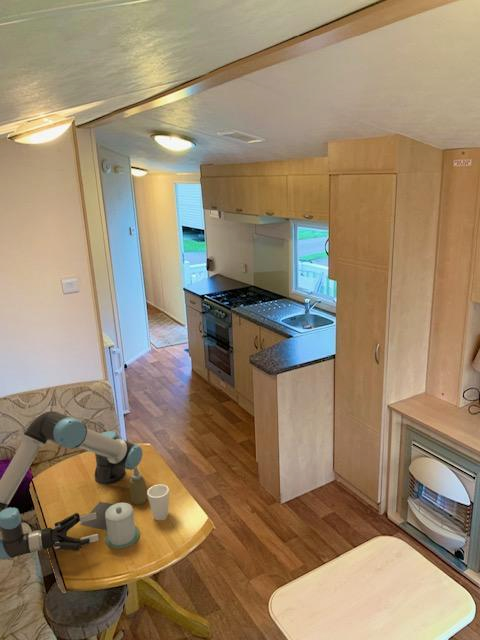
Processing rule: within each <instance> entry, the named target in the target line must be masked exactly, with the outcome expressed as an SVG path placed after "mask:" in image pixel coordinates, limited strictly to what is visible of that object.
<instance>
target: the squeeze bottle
mask: <svg viewBox="0 0 480 640" xmlns="http://www.w3.org/2000/svg"><path fill="white" fill-rule="evenodd" d="M130 475H131V476H130V479H129V497H130V499H131V501H132V503H133V504H134V505H136V506H139V505H143V504H145V503H146V501H147V499H148V494H147V491H148V488H147V484H146V481H145V480H146V479H145V477H144V476H143V474H142V472H141V471H139V468H138V466H137V467H135V468H134V469H133V473H131V474H130Z"/></svg>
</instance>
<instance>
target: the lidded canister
mask: <svg viewBox="0 0 480 640" xmlns="http://www.w3.org/2000/svg"><path fill="white" fill-rule="evenodd" d="M113 504H114V505H112V506H110V507H109V508H108V509H107V510H106V512H105V518H106V525H107V530H106V532H107V533H108V539H109V541H110V542H111V543H112V544H115V545H123V544H127V543H128V542H130V541H132V540H133V538H134V537H135V535H136V532H135V526H136V525H135V517H134V509H133V506H132V505H131V504H130V503H127V502H117V503H113Z"/></svg>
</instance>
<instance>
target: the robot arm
mask: <svg viewBox="0 0 480 640" xmlns="http://www.w3.org/2000/svg"><path fill="white" fill-rule="evenodd" d="M22 437H23V440H22V441H21V444H20V445H19V446H18V449H17V450H16V452H15V454H14V456H13V458H12V459H11V461H10V462H9V464H8V466H7V468H6V469H5V471H4V473H3V475H2V477H1V478H0V534H1V535H0V536H1V538H2V539H0V559H1V560H8V559H14V558H17V557H20V556H24V555H27V554H31V553H35V552H39V551H42V549H43V550H49V549H51V548H53V547H54V551H60V550H63V551H64V550H65V551H75V552H76V551H77V552H78V551H80V550H81V549H82V546H84V545H89V544H91V543H94V542H98V541H99V540H100V539H99V534H98V533H95V534H94V533H93V534H90V535H87V536H83V537H80V539H78V538H75V537H71V536H68V535H67V534H68V531H69V530H71V529H72V528H74V527H75V526H76V525H77V524H78V523H80V524H81V523H82V522H85V521H90V520H94V519H97V518H96V512H95V513H91V514H89V513H85V514H82V515H81V514H80V513H78V512H75V513H73V514H71V515H69V516H67V517H65V518H64V519H63V520H60V521H57V522H55V523H54V528H52V527H46V528H43V529H42V530H40V529H38V530H33V531H30V532H25V533H24V528H23V524H22V523H23V522H22V516H21V514H20V511H19V508H17V507H8V506H9V504H10V502H11V500H12V499H13V497H14V495H15V494H16V492H17V490H18V488H19V486H20V485H21V482H22V481H23V479H24V478H25V476H26V474H27V472H28V470H29V469H30V467H31V465H32V463H33V461H34V459H35V458H36V456H37V454H38V453H39V451H40V449H41V447H43V446H45V445H46V443H47V441H50V442H52V443H54V444H57V445H59V446H61V447H63V448H67V449H68V448H69V449H73V450H75V449H78V448H79V449H83V450H85V451H88V452H91V453H93V454H94V455H95V461H96V465H95V471H94V479H95V482H96V483H98V484H101V485H112V484H115V483H118V482H119V481H122V480H123V479H124V477H126V473H127V472H126V470H129V471H134V468H135V467H137V468H138V466H139V464H141V463H140V462H141V461H142V458H143V449H142V447H141V446H140V445H138V444H135V443H132V442H130V441H127V440H125V439H123V438H119V437H118V433H117V432H116V431H114V430H108V431H103V432H101V433H99V432H97V431H95V430H92V429H89V428H88V427H87V425H86V423H85V422H83V421H81V420H79V419H78V418H75V417H72V416H68V415H66V414H63V413H60V412H58V411H54V410H53V411H51V410H50V411H45V412H43V413H41V414H39V415H38V416H36V418H34V419H33V421H31V423H30V424H29V425H28V427H27V428H26V430H25V432H24V434H23V436H22Z"/></svg>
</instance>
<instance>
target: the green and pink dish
mask: <svg viewBox="0 0 480 640" xmlns="http://www.w3.org/2000/svg"><path fill="white" fill-rule="evenodd" d="M135 532H136V535H135V537H134V538H133V540H132V541H130V542H128V543H127V544H123V545H115V544H112V543H111V542H110V541H109V539H108V532H107V533H106V534H105V537H104V538H105V544H106V546H108V547H109V548H112V549H115V550H118V549H119V550H121V549H125V548H129V547H131V546H132V545H134V544H136V543H137V542H138V541H139V539H140V533H141V532H140V529H139V527H138V526H136V525H135Z"/></svg>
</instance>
